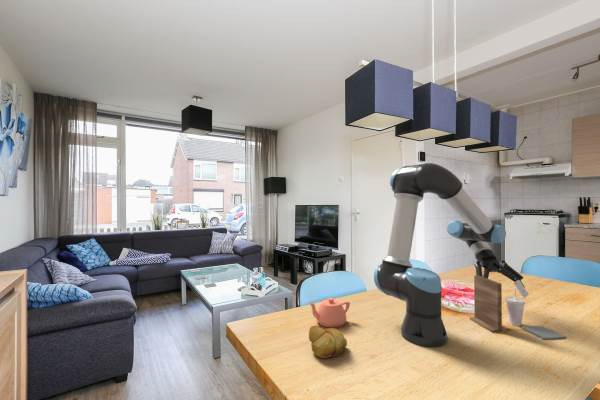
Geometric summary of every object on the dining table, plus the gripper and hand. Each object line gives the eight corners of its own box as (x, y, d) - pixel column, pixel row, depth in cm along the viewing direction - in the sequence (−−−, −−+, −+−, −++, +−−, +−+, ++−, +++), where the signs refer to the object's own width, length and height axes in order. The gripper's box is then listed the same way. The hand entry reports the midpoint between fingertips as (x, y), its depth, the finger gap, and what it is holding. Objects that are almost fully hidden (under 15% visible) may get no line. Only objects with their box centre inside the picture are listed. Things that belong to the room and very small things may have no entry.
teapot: (356, 326, 111) (356, 301, 111) (312, 331, 106) (312, 306, 106) (343, 314, 123) (343, 292, 123) (303, 319, 118) (303, 296, 118)
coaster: (543, 339, 100) (543, 338, 100) (520, 328, 109) (520, 326, 109) (566, 338, 101) (566, 336, 101) (542, 327, 110) (542, 325, 110)
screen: (492, 332, 105) (492, 283, 105) (469, 319, 117) (469, 275, 117) (507, 331, 106) (506, 283, 106) (483, 318, 118) (482, 275, 118)
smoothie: (506, 325, 111) (506, 289, 112) (504, 319, 117) (503, 285, 117) (527, 328, 108) (527, 291, 109) (523, 322, 114) (523, 287, 114)
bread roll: (341, 342, 98) (341, 318, 98) (355, 356, 89) (355, 330, 89) (306, 348, 94) (306, 324, 94) (317, 364, 85) (317, 337, 85)
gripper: (502, 257, 135) (532, 299, 120) (454, 258, 132) (478, 302, 117) (512, 247, 130) (544, 290, 115) (462, 249, 127) (488, 293, 112)
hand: (511, 296), depth 116 cm, fingers open, 13 cm apart
